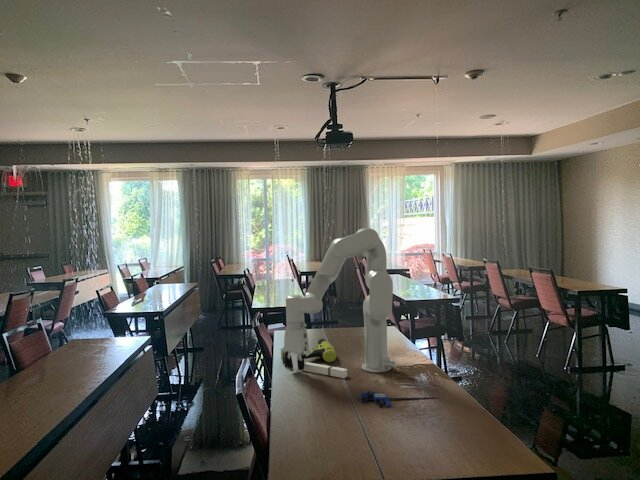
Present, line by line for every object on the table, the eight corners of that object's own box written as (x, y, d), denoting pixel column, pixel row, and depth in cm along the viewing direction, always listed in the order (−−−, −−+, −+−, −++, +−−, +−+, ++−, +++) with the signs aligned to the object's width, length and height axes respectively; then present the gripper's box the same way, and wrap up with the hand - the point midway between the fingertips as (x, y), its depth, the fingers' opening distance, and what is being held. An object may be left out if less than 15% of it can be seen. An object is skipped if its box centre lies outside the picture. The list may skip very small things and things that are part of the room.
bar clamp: (362, 402, 147) (358, 391, 157) (362, 409, 147) (358, 397, 157) (457, 401, 149) (447, 390, 159) (457, 408, 149) (447, 397, 159)
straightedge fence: (347, 376, 179) (347, 368, 179) (344, 378, 177) (343, 370, 177) (295, 366, 193) (294, 359, 193) (291, 368, 191) (291, 361, 190)
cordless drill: (278, 351, 217) (328, 347, 221) (283, 368, 192) (339, 364, 197) (277, 337, 216) (327, 334, 221) (283, 353, 192) (338, 349, 196)
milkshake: (295, 369, 188) (293, 346, 188) (305, 371, 185) (302, 347, 185) (288, 372, 185) (286, 349, 185) (298, 374, 182) (295, 350, 182)
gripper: (317, 325, 183) (318, 368, 184) (284, 321, 192) (286, 363, 193) (307, 329, 177) (308, 374, 177) (274, 325, 186) (275, 368, 186)
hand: (296, 367), depth 185 cm, fingers closed on milkshake, 4 cm apart
